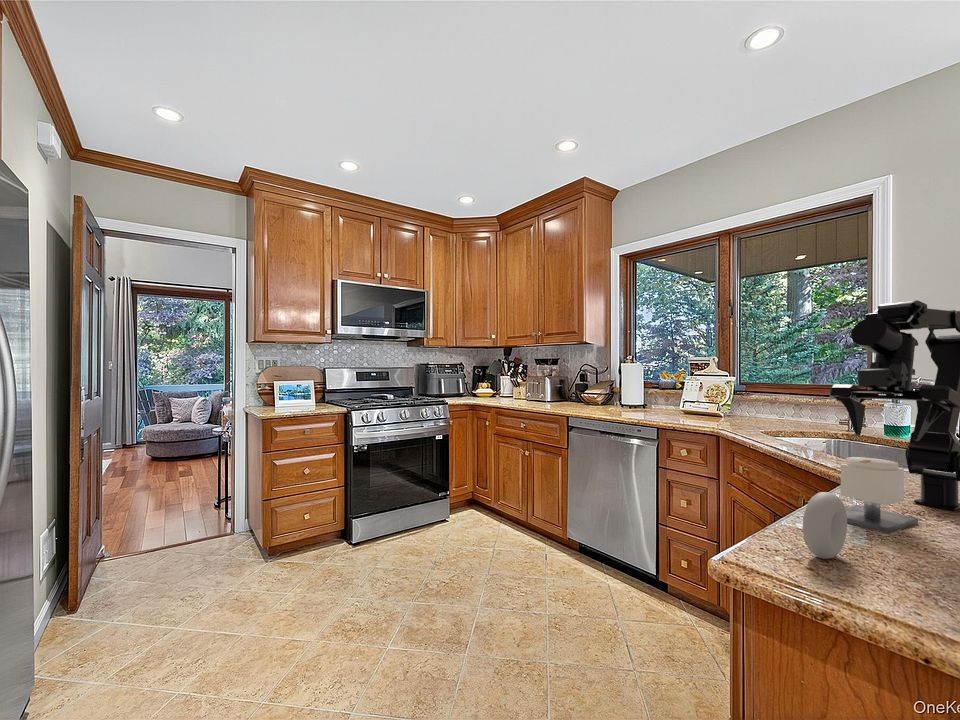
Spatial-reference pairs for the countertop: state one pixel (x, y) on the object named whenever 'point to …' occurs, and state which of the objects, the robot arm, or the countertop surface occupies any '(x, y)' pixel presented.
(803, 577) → the countertop surface
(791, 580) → the countertop surface
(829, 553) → the donut
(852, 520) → the plate
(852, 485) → the knob
